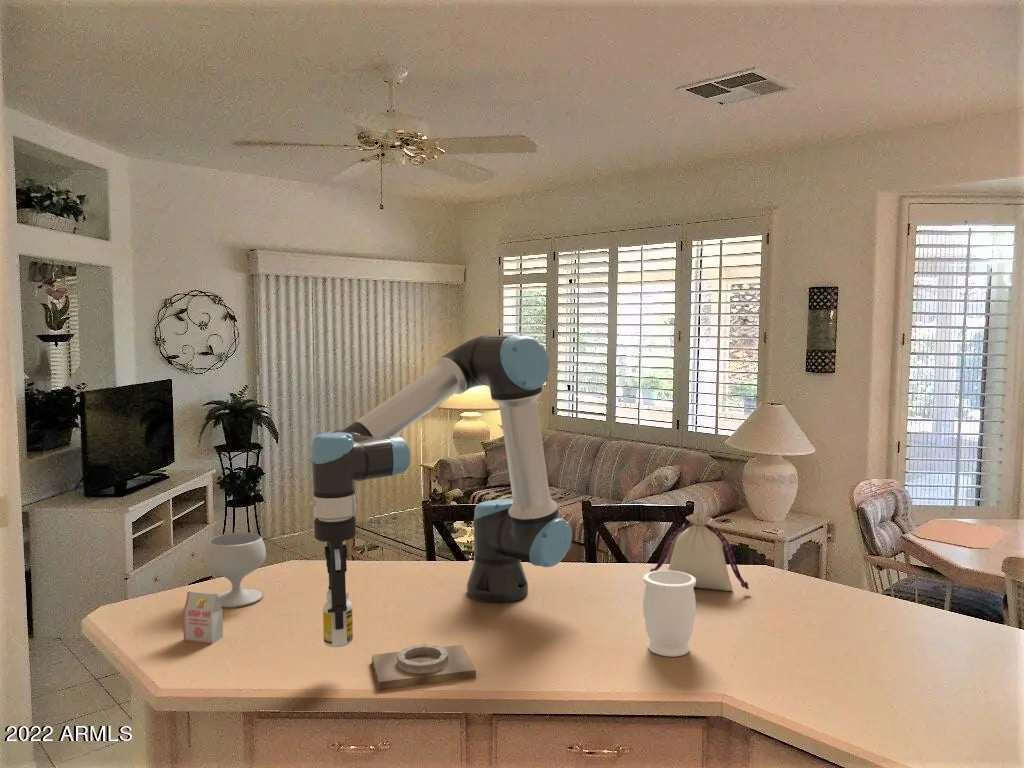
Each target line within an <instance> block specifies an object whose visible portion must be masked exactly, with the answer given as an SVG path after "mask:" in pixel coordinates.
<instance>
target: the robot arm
mask: <svg viewBox="0 0 1024 768" xmlns="http://www.w3.org/2000/svg"><path fill="white" fill-rule="evenodd" d="M550 364H551V363H550V358H549V354H548V353H547V350H546V348H545V347H544V345H543V344H542V343H541V342H540V341H538V340H537V339H536V338H534V337H531V336H526V335H525V336H524V335H521V334H520V335H519V334H506V335H505V334H503V335H502V334H501V335H499V334H498V335H497V334H496V335H495V334H494V335H491V334H487V335H486V334H485V335H483V334H482V335H479V336H476V337H473V338H471V339H469V340H467V341H465V342H463V343H461V344H460V345H458V346H456V347H454V349H452V350H450V351H448V352H447V353H446V354H444V355H443V356H441V357H439V358H438V359H437V360H436V363H435V367H433V368H431V369H429V370H428V371H427V372H425V373H424V374H422V375H421V376H420V377H419V378H417V379H415V380H414V381H413V382H411V383H410V384H407V386H405V387H404V388H402V389H400V390H399V391H398V392H396V393H395V394H394V395H392V396H390V397H388V398H387V399H386V400H384V401H383V402H382V403H380V404H378V405H377V406H376V407H375V408H373V409H371V410H370V411H369V412H367V413H366V414H364V415H363V416H361V417H360V418H358V419H357V420H355V421H354V422H353V423H351V424H349V425H347V426H345V428H343V429H342V430H341V429H335V430H329V431H327V432H325V433H320V434H317V435H316V436H314V437H313V439H312V444H311V445H312V446H311V458H310V461H311V467H312V468H311V469H312V490H313V500H310V502H309V505H310V506H312V507H313V513H314V514H313V515H314V517H316V518H315V519H314V521H313V529H314V532H313V533H314V539H315V540H317V541H319V542H323V543H325V542H326V545H325V546H324V556H325V562H326V563H325V564H326V569H327V570H326V571H327V574H328V591H329V590H331V601H332V607H331V609H328V613H331V630H332V646H338V645H346V644H347V621H346V610H347V606H346V589H347V588H346V572H347V570H348V569H347V568H348V566H347V558H348V548H347V544H343V542H344V541H348V540H352V539H354V537H355V536H356V535H357V526H356V525H357V523H356V522H357V520H356V517H355V516H354V515H355V514H356V512H357V511H356V510H357V508H356V491H355V490H356V489H355V485H356V483H355V482H361V481H367V480H373V479H379V478H385V477H394V476H395V475H399V474H403V473H405V472H406V471H407V470H408V468H410V465H411V459H412V458H411V449H410V447H409V443H408V442H407V441H406V439H404V438H403V437H400V436H397V435H400V433H402V432H403V431H404V430H406V429H408V428H409V427H410V426H412V425H413V424H414V423H416V422H417V421H418V420H420V419H421V418H422V417H424V416H425V415H427V414H428V413H429V412H431V411H432V410H434V409H435V408H436V407H438V406H439V405H441V404H442V403H443V402H445V401H446V400H448V399H449V398H450V397H452V396H453V395H455V394H456V395H462V394H464V393H465V392H467V391H468V390H469V389H471V388H475V387H481V386H486V387H487V386H488V387H489V391H490V399H491V401H493V402H495V403H496V404H497V405H498V406H499V412H500V419H501V420H500V421H501V426H502V433H503V434H502V435H503V441H504V448H505V454H506V459H507V460H506V462H507V467H508V474H509V481H510V489H511V496H512V498H504V499H503V498H500V499H499V498H498V499H491V500H486V501H482V502H479V503H477V504H476V506H475V507H474V515H473V552H474V553H473V555H474V556H473V558H474V559H473V564H472V569H470V570H471V571H470V574H469V576H468V577H469V578H468V581H467V582H466V583H467V584H466V594H467V596H469V597H470V598H472V599H474V600H477V601H480V602H484V603H496V604H498V603H508V602H509V603H510V602H515V601H519V600H522V599H523V598H525V597H526V596H527V595H528V594H529V583H528V580H527V576H526V574H525V570H524V567H523V564H522V561H523V562H526V563H529V564H532V566H535V567H539V566H540V567H543V568H551V567H554V566H556V565H558V564H559V563H560V562H561V561H563V559H564V558H565V557H566V555H567V553H568V551H569V550H570V547H571V545H572V544H571V543H572V539H573V538H572V536H573V533H572V531H573V530H572V527H571V525H570V523H569V522H567V521H566V520H565V519H564V518H561V517H560V514H559V506H558V503H557V501H555V500H554V499H552V498H551V494H550V489H549V487H550V486H549V480H548V474H547V473H548V472H547V466H546V459H545V458H546V457H545V451H544V443H543V437H542V436H543V435H542V430H541V427H542V426H541V421H540V415H539V406H538V398H539V397H540V396H541V394H543V388H542V386H543V385H544V384H545V383H547V379H548V375H549V374H550V368H551V367H550V366H551V365H550ZM346 646H347V645H346Z"/></svg>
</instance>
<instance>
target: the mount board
mask: <svg viewBox="0 0 1024 768" xmlns="http://www.w3.org/2000/svg"><path fill="white" fill-rule="evenodd" d="M371 664H372V667H373V671H374V676H375V680H376V685H377V688H378V690H379V691H380V690H381V691H382V690H389V689H397V688H398V689H399V688H405V687H412V686H420V685H429V684H437V683H447V682H453V681H461V680H469V679H476V678H477V669H476V668H475V666H474V664H473V662H472V660H471V658H470V656H469V654H468V653H467V651H466V649H465V648H464V646H463V644H457V645H448V646H439V645H437V644H436V645H435V644H426V643H424V644H423V643H422V644H416V645H415V644H414V645H411V646H407V647H405V648H402V649H401V650H399V651H395V652H394V651H393V652H386V653H376V654H372V655H371Z"/></svg>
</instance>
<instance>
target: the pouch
mask: <svg viewBox="0 0 1024 768" xmlns="http://www.w3.org/2000/svg"><path fill="white" fill-rule="evenodd" d="M685 518H686V520H687V521H689V523H688V524H686V525H683V526H681V527H679V528H678V529H676V530H675V531H674V532H672V533H671V535H670V536H669V537H668V539H667V540H666V542H665V544H664V546H663V548H662V551H661V553H660V557H659V560H658V562H657V564H656V566H655V567H654V568H652V567H651V568H650V569H649V572H652V571H659V569H660V568H661V567H662V565H664V563H665V560H666V558H667V557H668V554H669V551H670V548H671V546H672V543H673V541H674V539H675V538H676V537H677V535H678V534H679V533H680V534H679V535H678V537H677V538H676V542H675V546H674V548H673V552H672V555H671V559H670V562H669V567H668V569H667V570H671V571H679V572H684V573H687V574H690V575H692V576H693V577H695V579H696V585H695V586H694V587H693V588H696V589H697V588H698V589H707V590H716V591H717V590H718V591H722V592H724V591H726V592H732V591H733V589H734V588H733V585H732V582H731V580H730V578H731V577H730V575H729V570H728V566H727V561H726V558H725V553H724V549H725V551H726V554H727V558H728V561H729V565H730V567H731V570H732V572H733V574H734V576H735V577H736V578H737V580H738V581H739V582H740V586H741V588H745V589H746V590H749V589H750V587H749V583H748V581H744V579H743V577H742V575H741V573H740V571H739V568H738V567H739V566H738V564H737V561H736V557H735V554H734V551H733V548H732V547H731V544H730V543H729V541H728V540H727V538H726V537H725V536H724V535H723V534H722V532H720V531H719V530H717V529H716V528H715V527H714V526H712V525H709V524H710V522H711V521H712V520H713V518H712V517H710V516H708V515H706V513H705V512H696V513H692V514H690V515H687V516H686V517H685ZM684 529H685V530H684ZM683 530H684V531H683ZM722 544H723V546H724V549H723V546H722Z"/></svg>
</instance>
